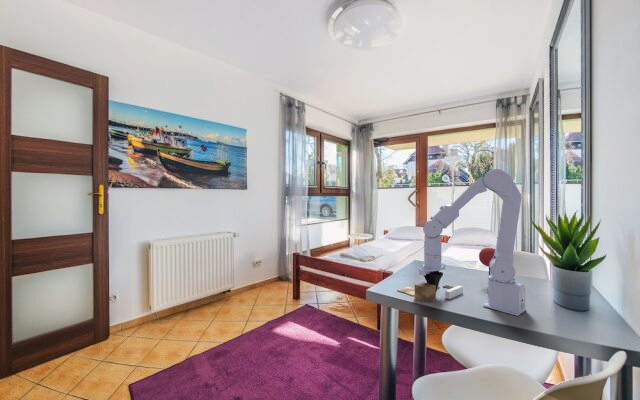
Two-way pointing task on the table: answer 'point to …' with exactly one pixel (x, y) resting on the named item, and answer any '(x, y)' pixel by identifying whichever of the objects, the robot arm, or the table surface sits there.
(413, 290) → the pad
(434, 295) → the block
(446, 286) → the trap pad
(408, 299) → the table surface
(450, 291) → the channel
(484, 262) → the lollipop
